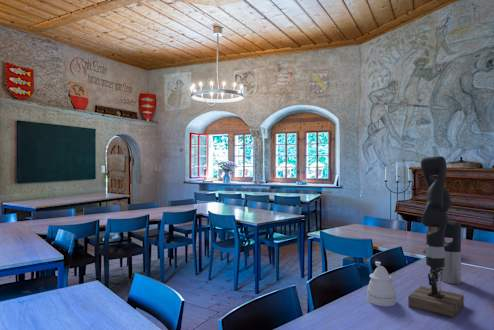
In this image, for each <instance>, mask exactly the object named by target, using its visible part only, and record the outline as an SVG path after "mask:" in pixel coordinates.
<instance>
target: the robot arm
mask: <svg viewBox="0 0 494 330" xmlns="http://www.w3.org/2000/svg"><path fill="white" fill-rule="evenodd" d="M420 168H421V171H422V174H423V178H424V180H425V183H426V185H427V191H426V197H425V198H426V200H425V201H426V202H425V208H424V210H423V213H422V215H421V223H422V225H423V226H424V227H426V228H427V227H437V229H438V230H437V231H434V232H428V233H427V234H426V233H425V234H426V237H425V238H426V239H425V240H426V241H425V249H426V254H425V264H426V266H428V267H429V273H428V274H427V279H428V284H429V286H430V288H431V290H432V294H434V295H437V282H438V281H439V277H441V282H445V283H448V284H453V285H459V284H462V254H461V253H462V252H461V251H462V249H461V247H462V225H461V223H460V222H458V221H452V220H449V218H448V215H447V213H448V211H449V210H450V208H451V206H452V199H451V195H450V193H449V191H448V189H447V188H446V187H445V182H446V177H447V169H448V168H447V161H446V158H445V157H444V156H441V155H440V156H431V157H430V156H428V157H424V158H422V159H421V161H420ZM434 176H437V177H436V178H435V177H434ZM444 237H445V238H448V239H452V240H451V241H450V242H447V243H444ZM435 278H437V279H435ZM433 282H434V283H433Z"/></svg>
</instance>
